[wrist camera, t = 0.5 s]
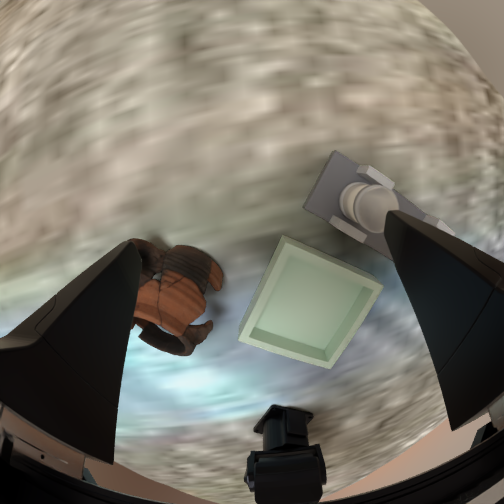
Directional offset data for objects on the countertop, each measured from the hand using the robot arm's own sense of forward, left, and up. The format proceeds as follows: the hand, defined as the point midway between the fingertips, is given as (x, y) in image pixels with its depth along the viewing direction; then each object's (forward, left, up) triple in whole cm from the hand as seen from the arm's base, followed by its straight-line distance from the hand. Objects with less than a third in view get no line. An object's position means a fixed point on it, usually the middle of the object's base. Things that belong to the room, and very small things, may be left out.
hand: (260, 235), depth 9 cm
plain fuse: (+3, -8, -15) cm, 18 cm away
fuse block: (+3, -13, -16) cm, 21 cm away
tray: (-8, -9, -16) cm, 20 cm away
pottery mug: (-11, +4, -17) cm, 20 cm away
